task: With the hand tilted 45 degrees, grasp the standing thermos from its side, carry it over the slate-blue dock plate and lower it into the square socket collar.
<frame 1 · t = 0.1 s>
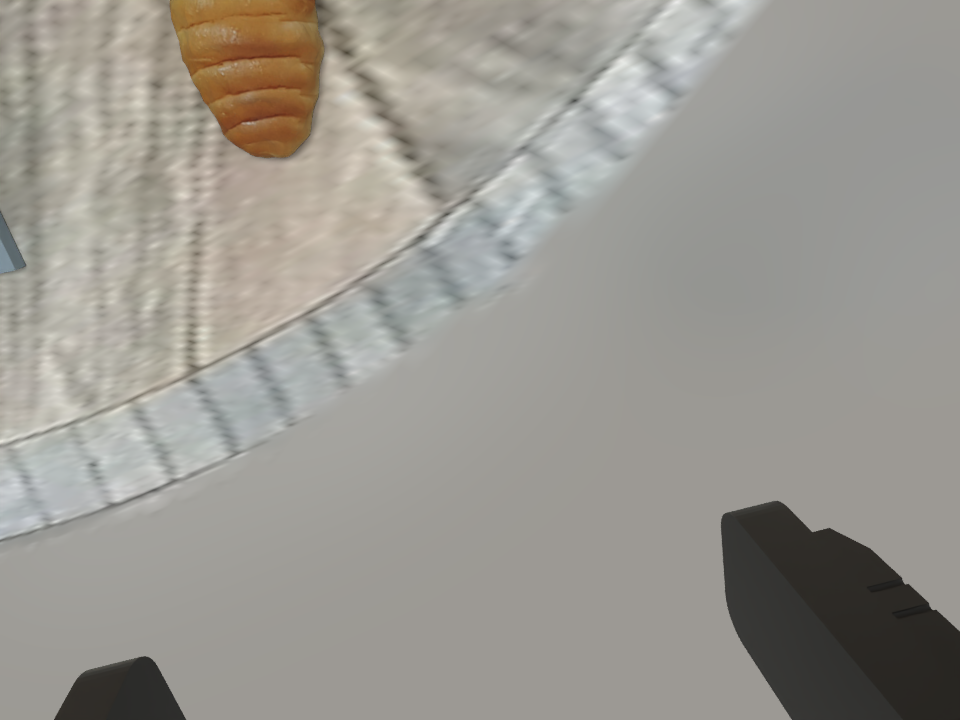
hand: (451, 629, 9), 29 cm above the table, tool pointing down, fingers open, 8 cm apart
pastry: (261, 42, 32), on the table
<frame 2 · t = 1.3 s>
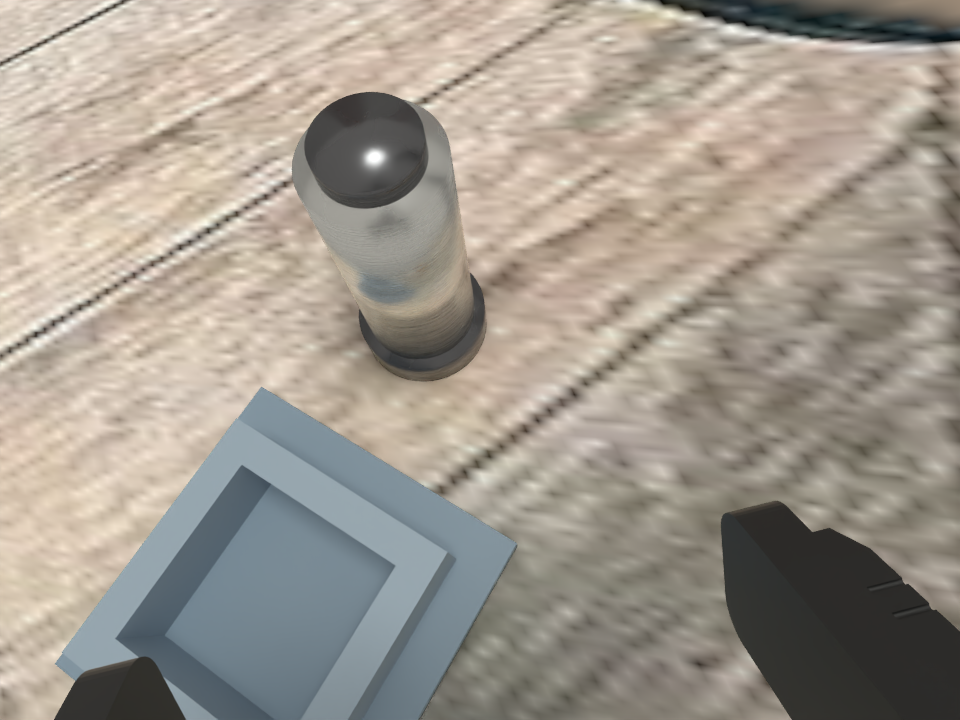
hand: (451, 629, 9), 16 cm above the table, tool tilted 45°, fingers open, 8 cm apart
dock: (297, 603, 24), on the table
thermos: (426, 324, 28), on the table
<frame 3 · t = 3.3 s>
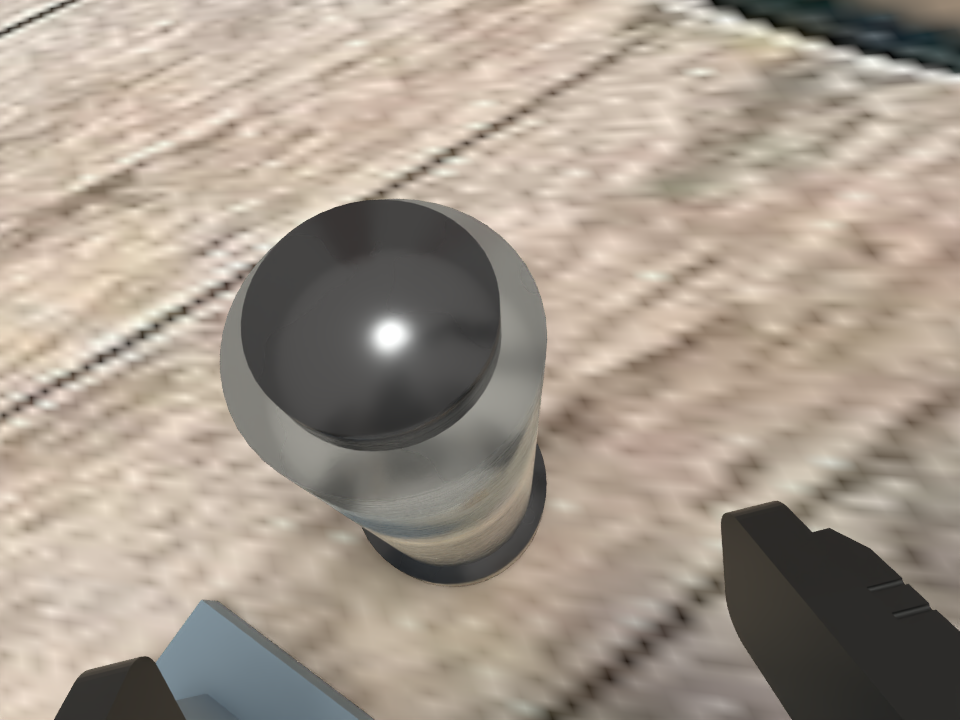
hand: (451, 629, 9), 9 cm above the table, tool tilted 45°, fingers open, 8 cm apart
thermos: (454, 492, 19), on the table
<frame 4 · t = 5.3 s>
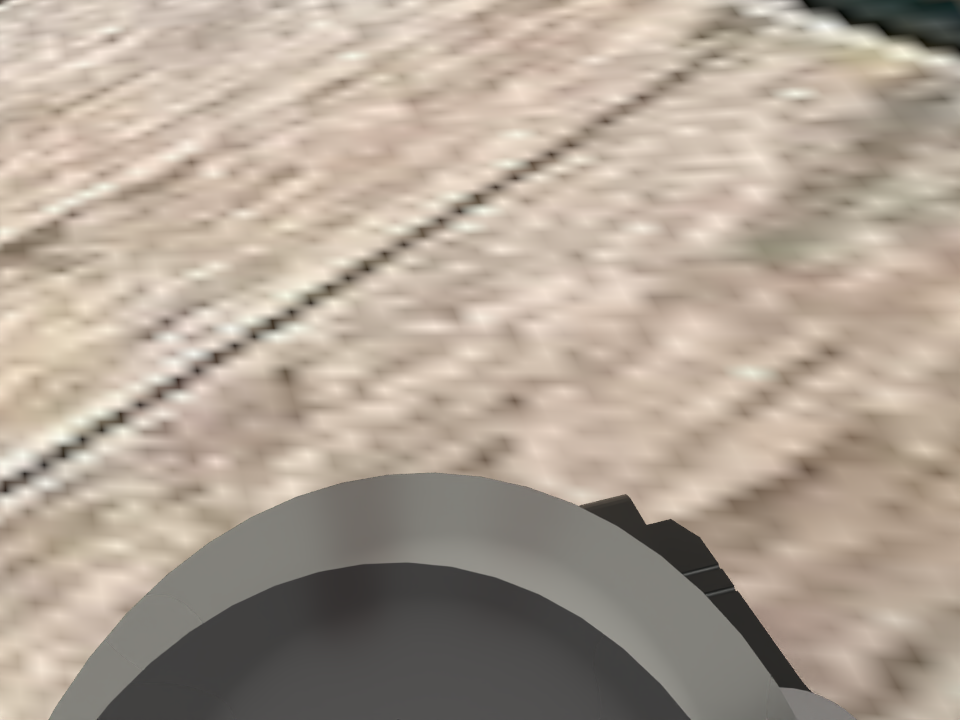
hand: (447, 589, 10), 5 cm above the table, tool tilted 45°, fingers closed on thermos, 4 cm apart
thermos: (489, 697, 13), on the table, touching gripper
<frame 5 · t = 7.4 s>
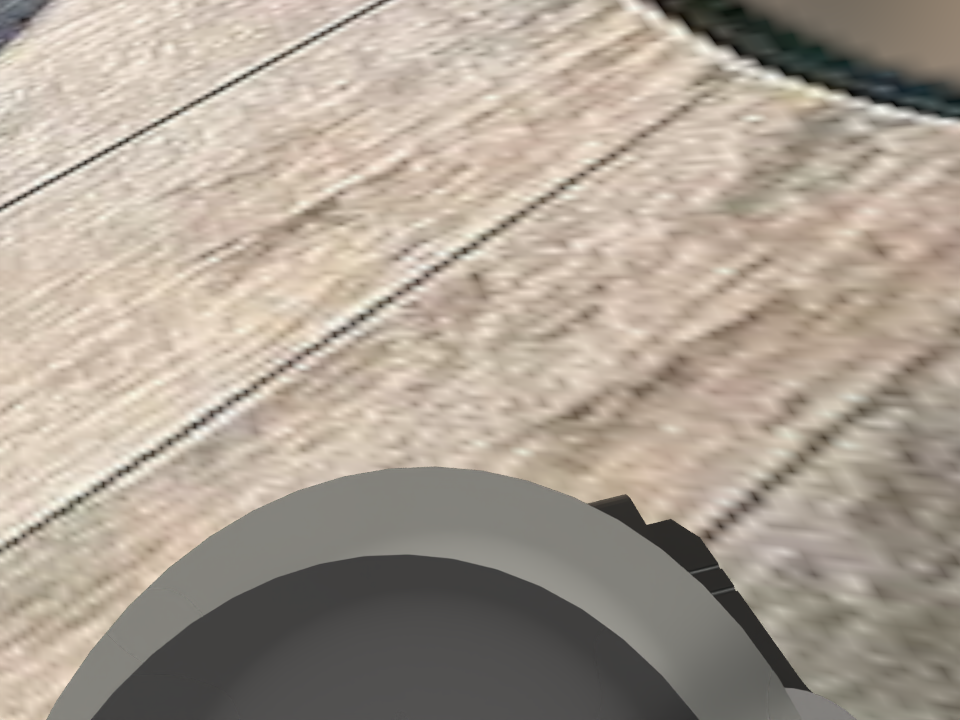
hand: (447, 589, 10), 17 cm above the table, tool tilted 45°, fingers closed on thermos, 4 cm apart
thermos: (490, 694, 13), point 12 cm above the table, touching gripper
when the fingers open (7 cm above the table, at t = 9.7 s): thermos drops 1 cm, resting on dock.
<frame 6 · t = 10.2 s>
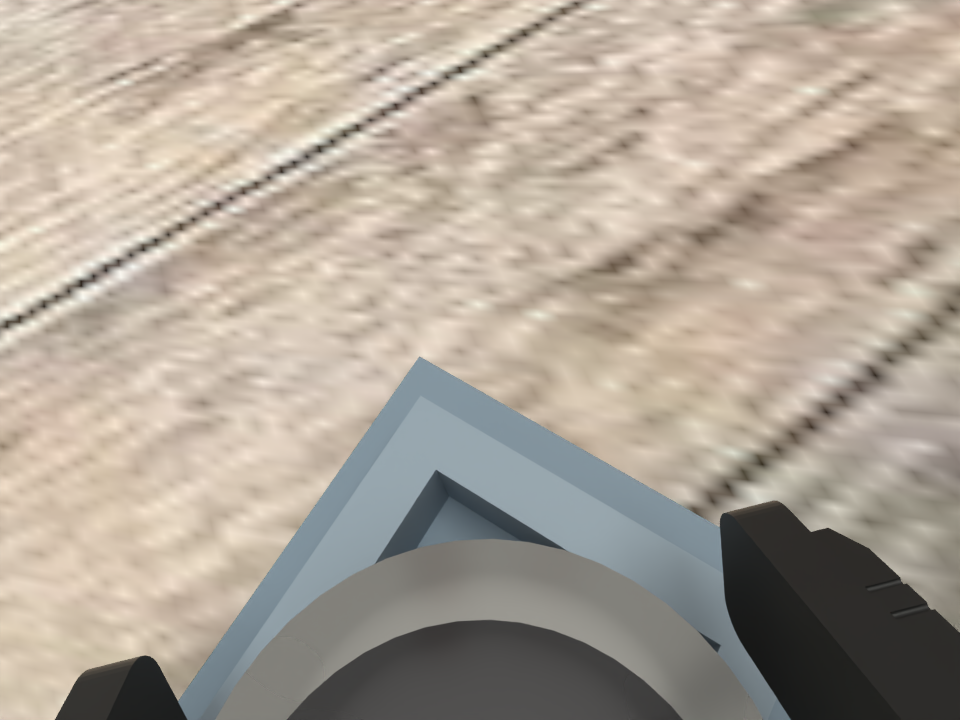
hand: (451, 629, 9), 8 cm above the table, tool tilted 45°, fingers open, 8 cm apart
dock: (492, 687, 16), on the table
thermos: (497, 696, 15), point 1 cm above the table, touching dock
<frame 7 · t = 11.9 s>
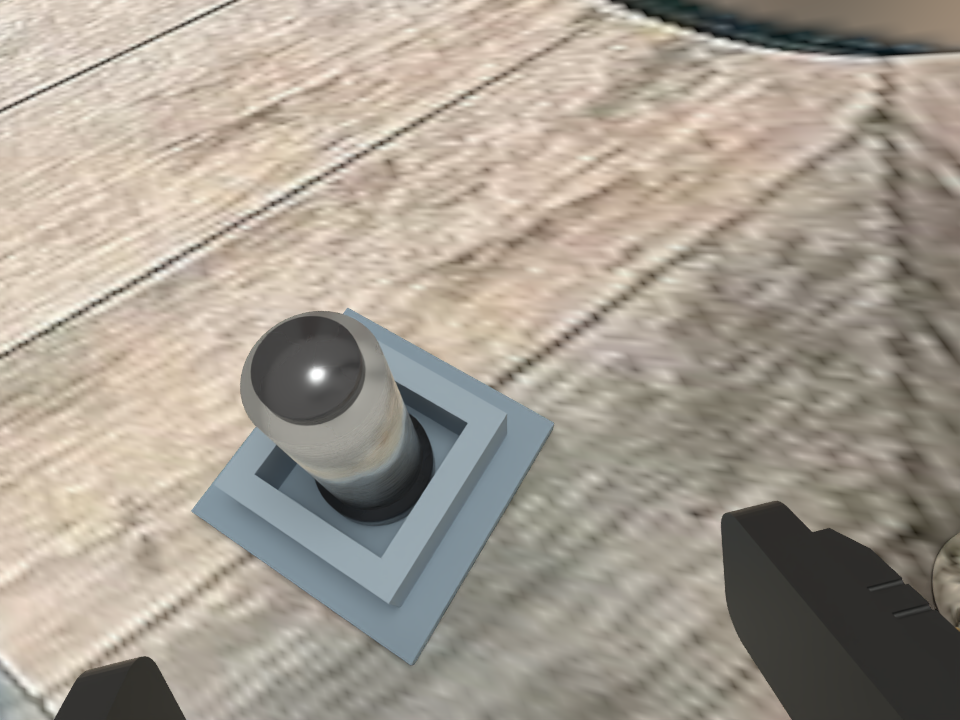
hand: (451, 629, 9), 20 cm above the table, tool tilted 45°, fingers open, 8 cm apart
dock: (379, 471, 31), on the table
thermos: (378, 468, 30), point 1 cm above the table, touching dock
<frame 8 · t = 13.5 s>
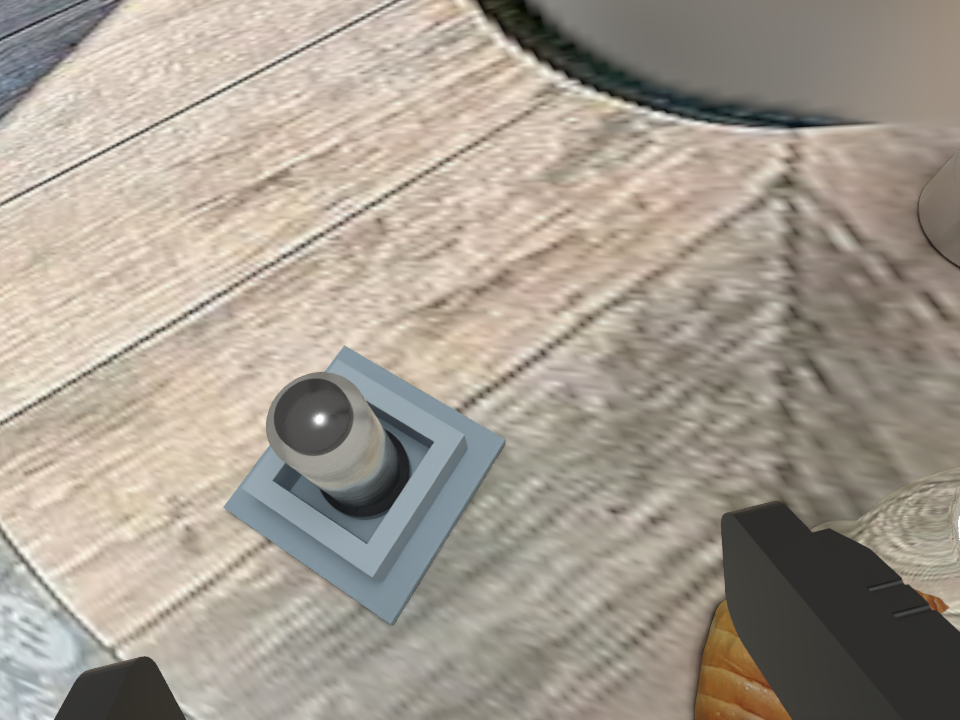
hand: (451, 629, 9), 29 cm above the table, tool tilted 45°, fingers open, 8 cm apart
beer glass: (846, 577, 36), on the table
dock: (369, 476, 39), on the table
thermos: (367, 474, 38), point 1 cm above the table, touching dock
pastry: (762, 671, 34), on the table
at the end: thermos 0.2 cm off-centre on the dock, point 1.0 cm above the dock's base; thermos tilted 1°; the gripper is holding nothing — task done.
